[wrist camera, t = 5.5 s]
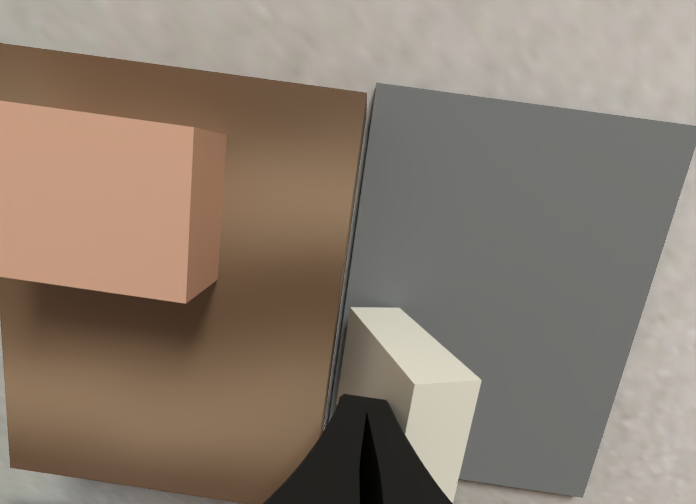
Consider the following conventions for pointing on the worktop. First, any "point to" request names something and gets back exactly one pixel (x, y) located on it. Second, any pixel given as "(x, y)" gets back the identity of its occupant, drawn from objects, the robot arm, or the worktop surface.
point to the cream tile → (412, 386)
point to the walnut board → (204, 309)
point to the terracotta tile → (109, 202)
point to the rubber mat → (518, 261)
